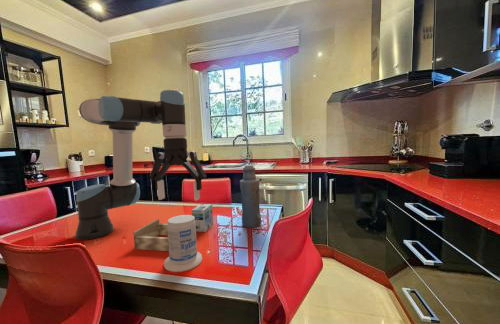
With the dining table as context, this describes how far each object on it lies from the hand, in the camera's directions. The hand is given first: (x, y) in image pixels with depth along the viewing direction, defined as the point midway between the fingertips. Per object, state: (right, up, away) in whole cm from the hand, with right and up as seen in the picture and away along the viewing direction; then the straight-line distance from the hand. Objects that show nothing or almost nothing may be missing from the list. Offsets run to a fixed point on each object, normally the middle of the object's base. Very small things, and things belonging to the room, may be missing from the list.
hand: (179, 199), depth 77 cm
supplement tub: (+1, -22, +2) cm, 22 cm away
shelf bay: (-12, -22, +19) cm, 31 cm away
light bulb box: (+1, -20, +33) cm, 39 cm away
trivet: (+1, -23, +2) cm, 23 cm away
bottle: (+25, -19, +35) cm, 47 cm away
